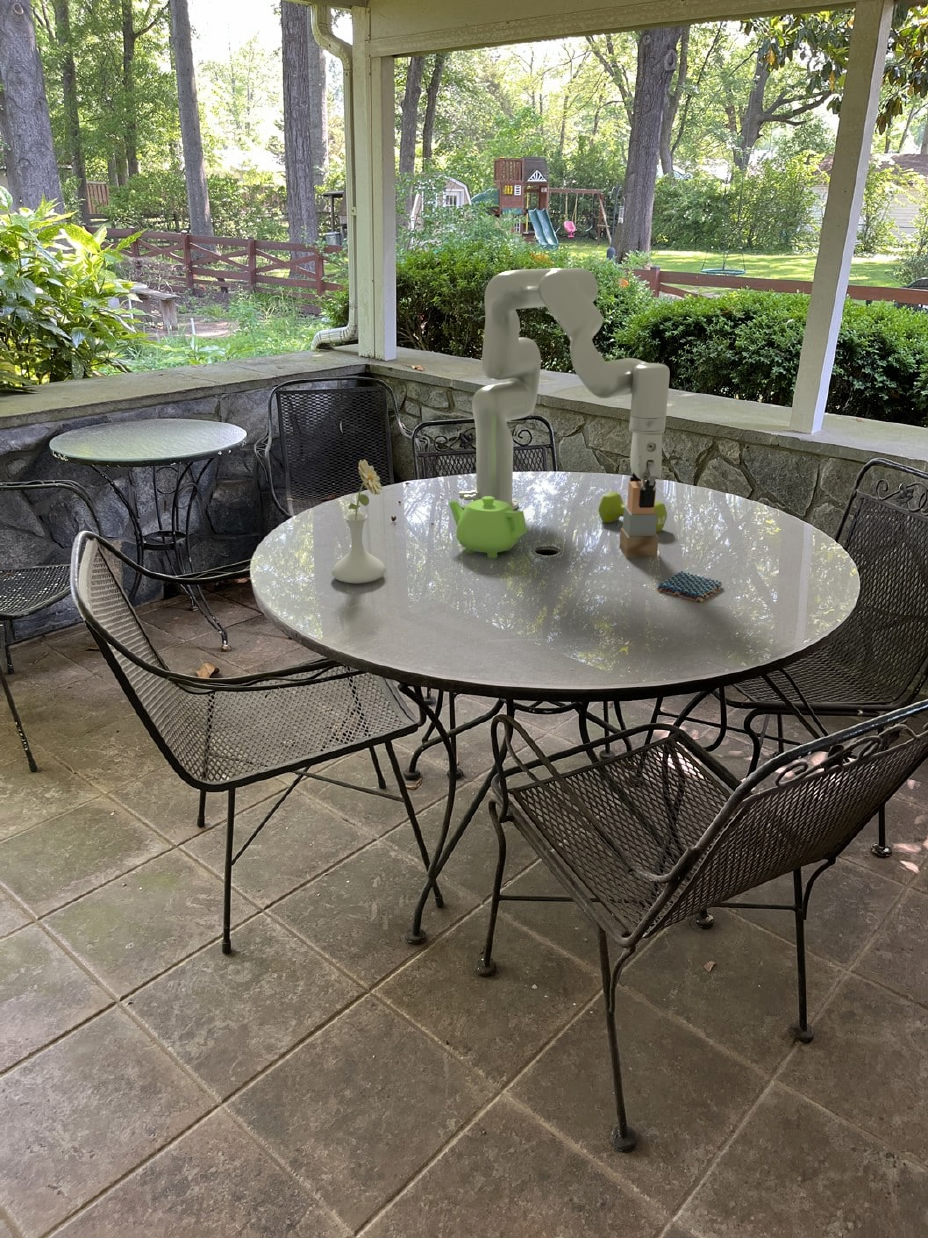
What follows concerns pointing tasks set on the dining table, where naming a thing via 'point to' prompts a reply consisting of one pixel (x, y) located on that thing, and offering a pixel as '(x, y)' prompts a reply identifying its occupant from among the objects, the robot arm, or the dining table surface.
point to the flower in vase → (360, 537)
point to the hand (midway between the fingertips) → (641, 500)
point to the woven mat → (689, 586)
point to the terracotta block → (637, 499)
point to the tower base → (638, 545)
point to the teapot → (488, 525)
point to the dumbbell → (614, 509)
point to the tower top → (639, 523)
